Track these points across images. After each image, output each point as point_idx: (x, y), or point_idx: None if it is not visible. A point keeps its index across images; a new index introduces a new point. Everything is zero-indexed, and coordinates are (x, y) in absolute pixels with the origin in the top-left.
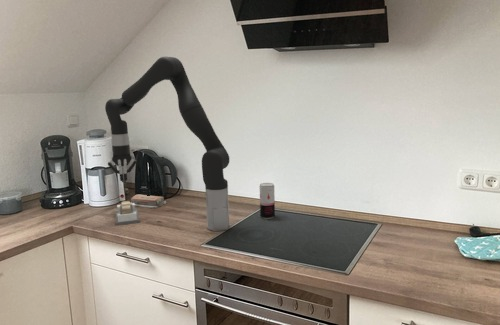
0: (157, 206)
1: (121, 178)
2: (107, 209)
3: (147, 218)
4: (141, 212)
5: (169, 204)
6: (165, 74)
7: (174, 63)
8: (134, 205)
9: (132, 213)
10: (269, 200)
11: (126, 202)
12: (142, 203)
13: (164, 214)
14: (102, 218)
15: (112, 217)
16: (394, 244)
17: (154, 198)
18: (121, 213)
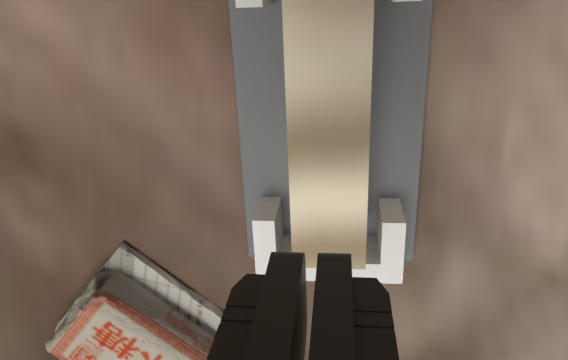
0: (106, 262)
1: (358, 313)
2: (461, 355)
3: (163, 6)
4: (219, 189)
5: (36, 292)
6: None
7: None
8: (256, 219)
9: None
10: None
11: (320, 221)
12: (210, 338)
13: (37, 65)
14: (526, 156)
15: (444, 151)
16: None
17: (104, 333)
18: (371, 178)
